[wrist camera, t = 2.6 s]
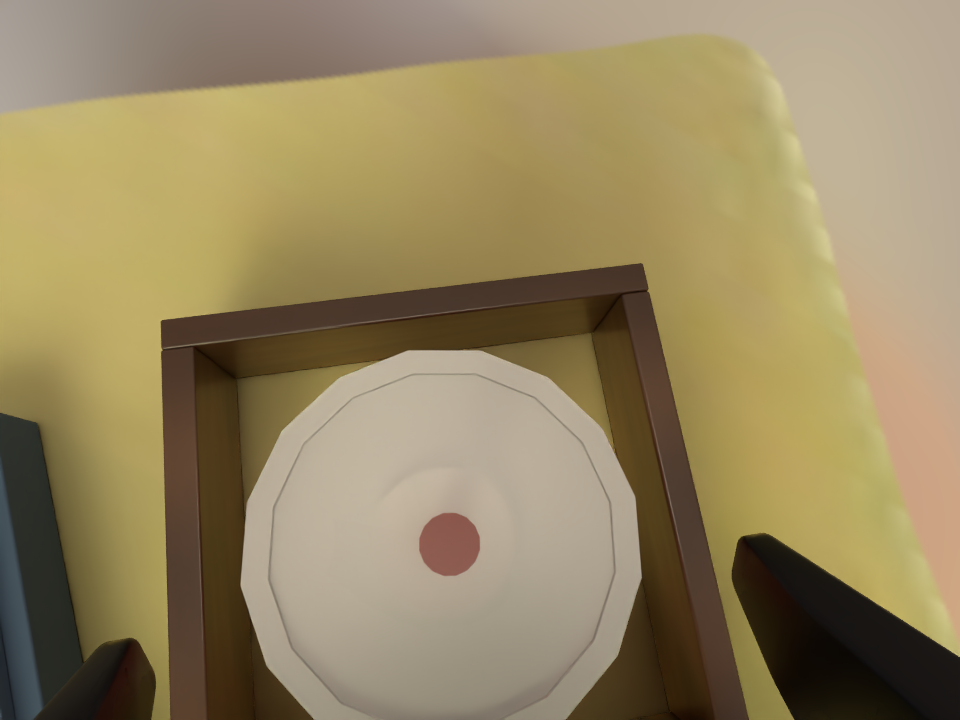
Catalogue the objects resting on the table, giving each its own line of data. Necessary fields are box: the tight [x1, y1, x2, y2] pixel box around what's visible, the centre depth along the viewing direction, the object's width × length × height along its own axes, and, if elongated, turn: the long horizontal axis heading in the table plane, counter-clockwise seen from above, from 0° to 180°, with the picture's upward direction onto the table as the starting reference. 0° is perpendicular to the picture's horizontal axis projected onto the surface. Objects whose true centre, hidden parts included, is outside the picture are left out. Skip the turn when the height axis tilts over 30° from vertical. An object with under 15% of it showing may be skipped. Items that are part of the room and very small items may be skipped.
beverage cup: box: [240, 350, 642, 720], centre depth 12 cm, size 6×6×14 cm
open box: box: [161, 263, 749, 720], centre depth 17 cm, size 13×13×4 cm
